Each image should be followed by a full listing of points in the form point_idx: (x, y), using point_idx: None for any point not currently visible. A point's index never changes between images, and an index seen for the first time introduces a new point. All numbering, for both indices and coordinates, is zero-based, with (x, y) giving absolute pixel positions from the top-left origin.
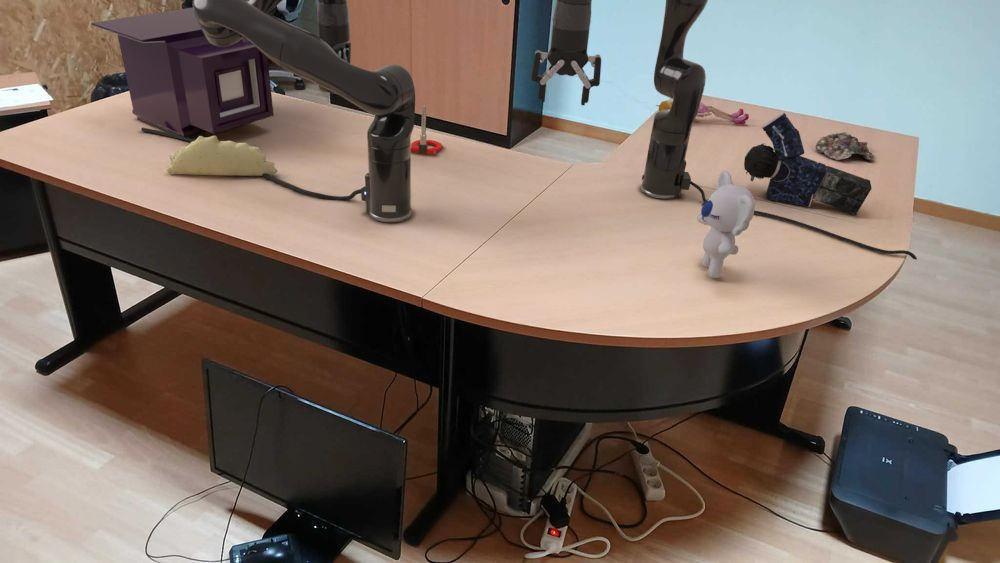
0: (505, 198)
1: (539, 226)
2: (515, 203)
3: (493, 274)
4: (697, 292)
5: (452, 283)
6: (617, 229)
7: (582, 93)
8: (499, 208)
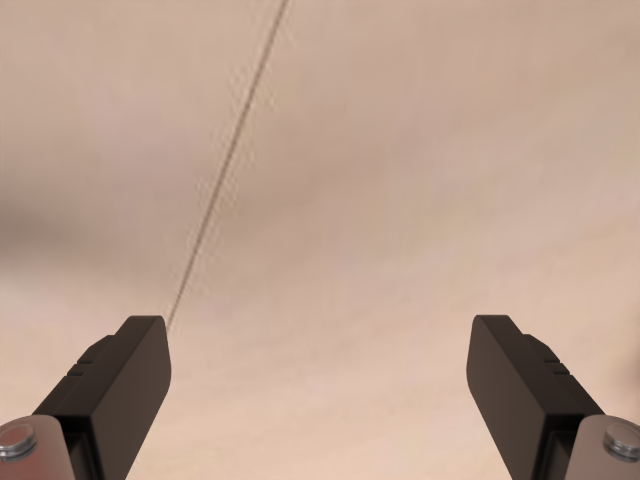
0: (179, 58)
1: (291, 220)
2: (214, 90)
3: (212, 421)
4: None
5: (145, 454)
6: (495, 202)
7: (505, 408)
8: (173, 133)
